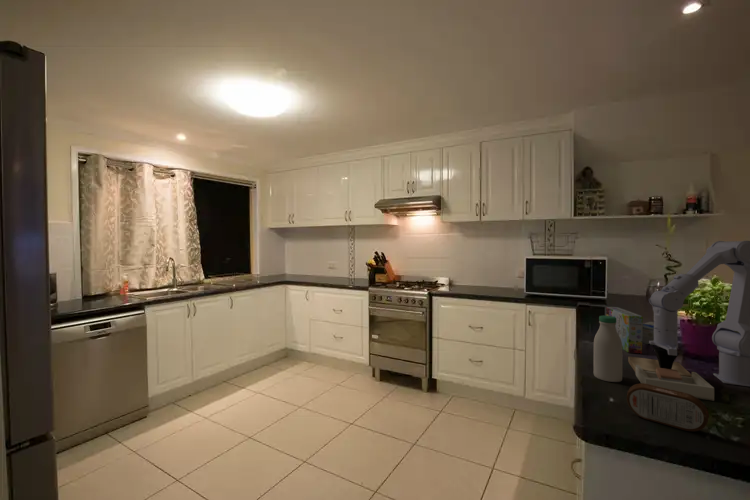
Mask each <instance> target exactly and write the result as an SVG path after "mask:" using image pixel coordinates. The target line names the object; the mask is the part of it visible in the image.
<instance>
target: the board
mask: <svg viewBox="0 0 750 500" xmlns="http://www.w3.org/2000/svg"><path fill="white" fill-rule="evenodd" d="M627 358H628V359H627V360H628V361H627V362H628V364H629V365H630V367H631V368H632V369H633V371H634V374H636V365H640V367H641V368H642V369H643V371H649V372H656V367H658V368H660V366H659V362H658V359H653V358H652V359H651V358H644V357H643V358H642V357H638V356H637V357H636V356H629V355H628V356H627ZM672 369H673V370H677V371H678V373H679V374H680V376H687V377H692V373H690V372H689V371H688V370H687V369H686V368H685V367H684V366H683V365H682V364H681V363H680V362H678V361H674V362H673V365H672Z"/></svg>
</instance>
